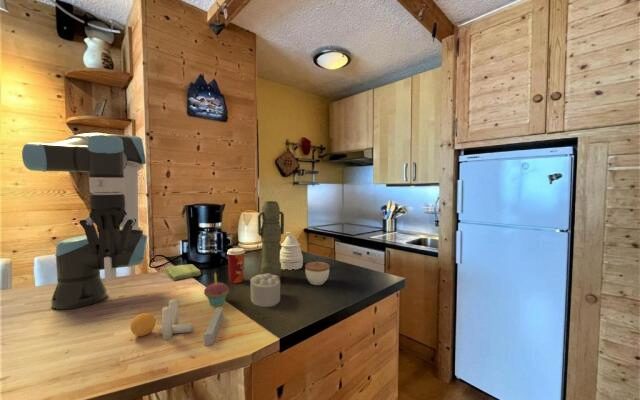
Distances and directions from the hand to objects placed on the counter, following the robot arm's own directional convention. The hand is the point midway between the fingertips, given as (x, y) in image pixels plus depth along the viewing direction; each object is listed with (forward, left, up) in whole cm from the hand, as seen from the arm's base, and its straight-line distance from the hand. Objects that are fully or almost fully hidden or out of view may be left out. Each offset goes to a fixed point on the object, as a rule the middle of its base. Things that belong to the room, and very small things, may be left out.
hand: (110, 279), depth 76 cm
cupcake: (+24, +19, -17) cm, 35 cm away
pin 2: (+15, +2, -16) cm, 22 cm away
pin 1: (+15, -2, -16) cm, 22 cm away
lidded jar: (+63, +34, -17) cm, 74 cm away
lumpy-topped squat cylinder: (+41, +20, -17) cm, 49 cm away
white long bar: (+27, 0, -16) cm, 32 cm away
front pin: (+12, 0, -15) cm, 20 cm away
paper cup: (+28, +41, -17) cm, 52 cm away
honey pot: (+53, +60, -17) cm, 82 cm away
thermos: (+43, +42, -17) cm, 62 cm away
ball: (+8, 0, -13) cm, 16 cm away
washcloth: (+2, +55, -17) cm, 58 cm away
